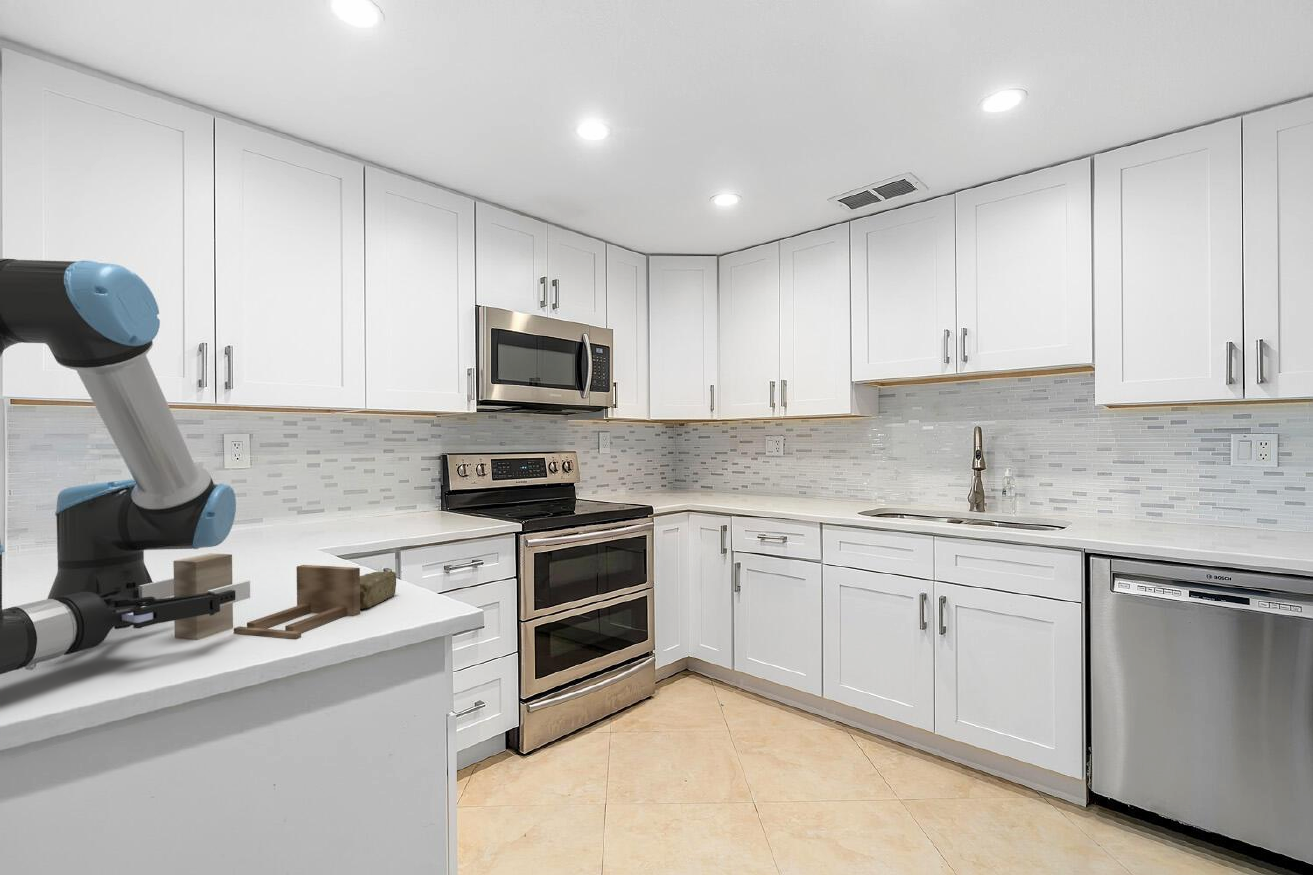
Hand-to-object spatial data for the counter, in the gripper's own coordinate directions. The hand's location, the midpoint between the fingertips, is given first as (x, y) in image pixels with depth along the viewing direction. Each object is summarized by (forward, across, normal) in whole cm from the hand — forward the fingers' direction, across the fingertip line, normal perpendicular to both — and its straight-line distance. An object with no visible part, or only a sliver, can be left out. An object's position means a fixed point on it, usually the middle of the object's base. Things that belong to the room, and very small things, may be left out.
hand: (215, 586), depth 100 cm
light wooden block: (-2, 0, -7) cm, 7 cm away
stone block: (+19, +13, -7) cm, 24 cm away
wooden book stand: (+6, +11, -7) cm, 14 cm away
